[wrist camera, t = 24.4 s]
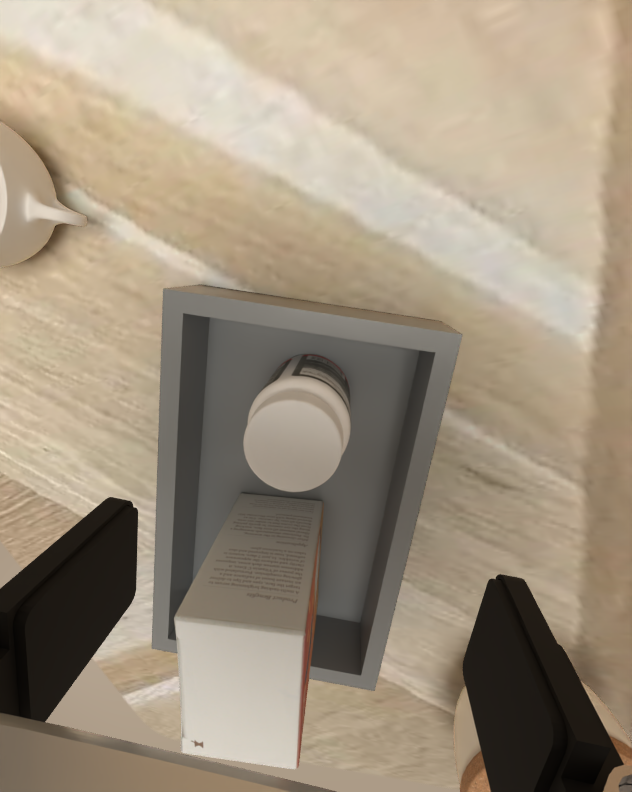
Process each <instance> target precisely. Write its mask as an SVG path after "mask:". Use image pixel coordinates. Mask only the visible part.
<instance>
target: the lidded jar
mask: <svg viewBox="0 0 632 792" xmlns="http://www.w3.org/2000/svg"><path fill="white" fill-rule="evenodd" d="M580 681H581V680H580ZM581 683H582V685H583V687H584V689H585V691H586V693H587V694H588V696H589V698H590V700H591V702H592V704H593V706H594V708H595V710H596V712H597V714H598V715H599V717H600V719H601V721H602V723H603V725H604V727H605V729H606V731H607V733H608V735H609V736H610V738H611V740H612V742H613V744H614V746H615V748H616V750H617V752H618V754H619V755H620V757H621V759H622V761H623V763H624V765H627V766H632V742H631V741H630V739H629V738H628V736H627V734H626V733H625V731H624V730H623V728H622V726H621V725H620V724H619V722H618V721H617V720H616V718H615V717H614V715H613V714H612V713H611V711H610V710H609V709H608V708H607V707H606V705H605V704H604V703H603V702H602V701H601V700H600V699H599V697H598V696H597V695H596V694H595V693H594V692H593V691H592V690H591V689H590V688H589V687H588V686H587V685H585V684H584V683H583V682H582V681H581ZM454 752H455V762H456V768H457V774H458V779H459V784H460V792H491V790H490V786H489V782H488V778H487V774H486V769H485V765H484V761H483V757H482V752H481V748H480V744H479V740H478V736H477V731H476V727H475V723H474V719H473V715H472V710H471V706H470V702H469V698H468V693H467V689H466V685H465V686H464V688H463V690H462V692H461V694H460V697H459V699H458V702H457V706H456V711H455V716H454Z"/></svg>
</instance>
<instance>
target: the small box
mask: <svg viewBox="0 0 632 792" xmlns="http://www.w3.org/2000/svg"><path fill="white" fill-rule="evenodd" d="M323 510H324V503H323V502H322V501H315V500H305V499H295V498H285V497H275V496H265V495H254V494H244V493H241V494H240V495H239V497H238V499H237V500H236V502H235V504H234V506H233V508H232V510H231V512H230V513H229V515H228V517H227V519H226V521H225V523H224V525H223V527H222V528H221V530H220V532H219V534H218V536H217V538H216V540H215V542H214V543H213V545H212V547H211V549H210V551H209V553H208V555H207V556H206V558H205V560H204V562H203V564H202V566H201V568H200V570H199V572H198V573H197V575H196V577H195V579H194V581H193V583H192V585H191V586H190V588H189V590H188V592H187V594H186V596H185V598H184V600H183V602H182V604H181V605H180V607H179V609H178V611H177V613H176V615H175V617H174V623H175V631H176V639H177V651H178V667H179V685H180V705H181V751H182V752H183V753H187V754H193V755H200V756H205V757H213V758H219V759H227V760H234V761H240V762H247V763H253V764H261V765H267V766H275V767H280V768H289V769H297V768H298V766H299V759H300V750H301V741H302V732H303V723H304V715H305V706H306V698H307V690H308V681H309V673H310V665H311V657H312V649H313V640H314V632H315V623H316V615H317V606H318V585H319V566H320V552H321V539H322V525H323Z"/></svg>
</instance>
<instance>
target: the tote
mask: <svg viewBox="0 0 632 792" xmlns="http://www.w3.org/2000/svg"><path fill="white" fill-rule="evenodd" d="M461 339H462V334H461V333H459V332H458V331H456V330H454V329H453V328H451V327H449V326H448V325H446V324H445V323H443V322H441V321H435V320H429V319H422V318H416V317H409V316H403V315H396V314H390V313H383V312H376V311H370V310H363V309H357V308H350V307H344V306H337V305H331V304H324V303H318V302H311V301H304V300H298V299H291V298H285V297H278V296H272V295H265V294H259V293H252V292H246V291H239V290H232V289H226V288H219V287H213V286H206V285H192V286H183V287H173V288H164V289H163V313H162V344H161V375H160V406H159V437H158V468H157V499H156V531H155V562H154V593H153V624H152V649H157V650H162V651H167V652H172V653H178V651H177V639H176V631H175V623H174V617H175V615H176V613H177V611H178V609H179V607H180V605H181V604H182V602H183V600H184V598H185V596H186V594H187V592H188V590H189V588H190V586H191V585H192V583H193V581H194V579H195V577H196V575H197V573H198V572H199V570H200V568H201V566H202V564H203V562H204V560H205V558H206V556H207V555H208V553H209V551H210V549H211V547H212V545H213V543H214V542H215V540H216V538H217V536H218V534H219V532H220V530H221V528H222V527H223V525H224V523H225V521H226V519H227V517H228V515H229V513H230V512H231V510H232V508H233V506H234V504H235V502H236V500H237V499H238V497H239V495H240V494H241V493H244V494H254V495H265V496H275V497H285V498H295V499H305V500H315V501H322V502H323V503H324V510H323V525H322V539H321V552H320V566H319V585H318V606H317V615H316V623H315V632H314V640H313V649H312V657H311V665H310V673H309V679H314V680H319V681H324V682H329V683H335V684H340V685H345V686H350V687H356V688H361V689H366V690H371V691H375V687H376V683H377V679H378V675H379V671H380V667H381V663H382V659H383V655H384V651H385V647H386V643H387V639H388V635H389V631H390V626H391V622H392V618H393V614H394V610H395V606H396V602H397V598H398V594H399V590H400V586H401V582H402V578H403V574H404V570H405V566H406V562H407V558H408V554H409V549H410V545H411V541H412V537H413V533H414V529H415V525H416V521H417V517H418V513H419V509H420V505H421V501H422V497H423V493H424V489H425V485H426V481H427V477H428V472H429V468H430V464H431V460H432V456H433V452H434V448H435V444H436V440H437V436H438V432H439V428H440V424H441V420H442V416H443V412H444V408H445V404H446V400H447V395H448V391H449V387H450V383H451V379H452V375H453V371H454V367H455V363H456V359H457V355H458V351H459V347H460V343H461ZM305 354H313V355H319V356H322V357H325V358H327V359H329V360H331V361H332V362H334V363H335V364H336V365H337V366H338V367H339V368H340V369H341V370H342V372H343V373H344V375H345V376H346V378H347V381H348V384H349V389H350V410H351V431H350V437H349V441H348V444H347V447H346V449H345V451H344V453H343V454H342V456H341V460H340V462H339V465H338V467H337V469H336V471H335V472H334V474H333V475H332V476H331V477H330V478H329V479H328V480H327V481H326V482H324V483H323V484H321V485H320V486H318V487H316V488H313V489H311V490H307V491H302V492H288V491H283V490H279V489H276V488H274V487H272V486H270V485H268V484H266V483H265V482H263V481H262V480H261V479H260V478H259V477H258V476H257V475H256V474H255V473H254V472H253V470H252V469H251V468H250V466H249V464H248V462H247V460H246V457H245V453H244V446H243V441H244V434H245V430H246V427H247V425H248V415H249V411H250V409H251V406H252V404H253V402H254V400H255V398H256V396H257V395H258V394H259V392H260V391H261V390H262V388H263V387H264V386H265V385H266V383H267V382H268V381H269V379H270V378H271V377H272V375H273V374H274V373H275V371H276V370H277V369H278V368H279V367H280V366H281V365H282V364H283V363H284V362H285V361H287V360H288V359H290V358H293V357H295V356H299V355H305Z"/></svg>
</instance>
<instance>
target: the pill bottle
mask: <svg viewBox="0 0 632 792" xmlns="http://www.w3.org/2000/svg"><path fill="white" fill-rule="evenodd" d="M350 431H351V410H350V389H349V384H348V381H347V378H346V376H345V375H344V373H343V372H342V370H341V369H340V368H339V367H338V366H337V365H336V364H335V363H334V362H332V361H331V360H329V359H327V358H325V357H322V356H319V355H313V354H305V355H299V356H295V357H293V358H290V359H288V360H287V361H285V362H284V363H283V364H282V365H281V366H280V367H279V368H278V369H277V370H276V371H275V373H274V374H273V375H272V377H271V378H270V379H269V381H268V382H267V383H266V385H265V386H264V387H263V388H262V390H261V391H260V392H259V394H258V395H257V396H256V398H255V400H254V402H253V404H252V406H251V409H250V411H249V415H248V425H247V427H246V430H245V434H244V441H243V446H244V453H245V457H246V460H247V462H248V464H249V466H250V468H251V469H252V470H253V472H254V473H255V474H256V475H257V476H258V477H259V478H260V479H261V480H262V481H263V482H265V483H266V484H268V485H270V486H272V487H274V488H276V489H279V490H283V491H288V492H302V491H307V490H311V489H313V488H316V487H318V486H320V485H321V484H323V483H324V482H326V481H327V480H328V479H329V478H330V477H331V476H332V475H333V474H334V472H335V471H336V469H337V467H338V465H339V462H340V460H341V456H342V454H343V453H344V451H345V449H346V447H347V444H348V441H349V437H350Z"/></svg>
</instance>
